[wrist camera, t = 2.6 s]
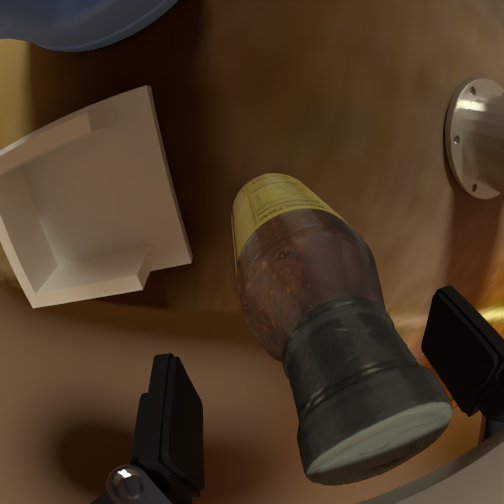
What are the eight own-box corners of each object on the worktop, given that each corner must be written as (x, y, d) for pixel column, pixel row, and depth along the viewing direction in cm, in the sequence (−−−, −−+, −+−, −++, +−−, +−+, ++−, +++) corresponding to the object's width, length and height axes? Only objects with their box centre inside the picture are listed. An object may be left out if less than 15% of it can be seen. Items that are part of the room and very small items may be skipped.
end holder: (150, 86, 18) (126, 79, 13) (192, 256, 25) (185, 295, 20) (4, 150, 18) (-37, 165, 13) (53, 284, 25) (27, 319, 20)
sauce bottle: (297, 248, 25) (399, 483, 7) (223, 236, 24) (234, 509, 6) (319, 174, 22) (521, 367, 5) (240, 156, 21) (313, 401, 4)
